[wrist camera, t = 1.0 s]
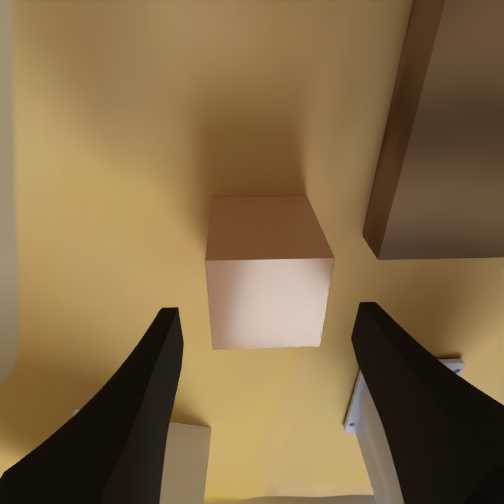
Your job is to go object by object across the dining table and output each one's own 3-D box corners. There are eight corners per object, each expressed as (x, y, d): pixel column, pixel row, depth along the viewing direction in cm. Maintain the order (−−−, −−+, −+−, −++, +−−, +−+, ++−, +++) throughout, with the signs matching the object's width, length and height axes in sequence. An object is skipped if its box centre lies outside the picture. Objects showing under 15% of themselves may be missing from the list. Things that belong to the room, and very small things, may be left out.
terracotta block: (298, 270, 21) (319, 346, 16) (217, 272, 20) (212, 349, 15) (306, 195, 18) (334, 258, 13) (213, 196, 18) (205, 260, 13)
